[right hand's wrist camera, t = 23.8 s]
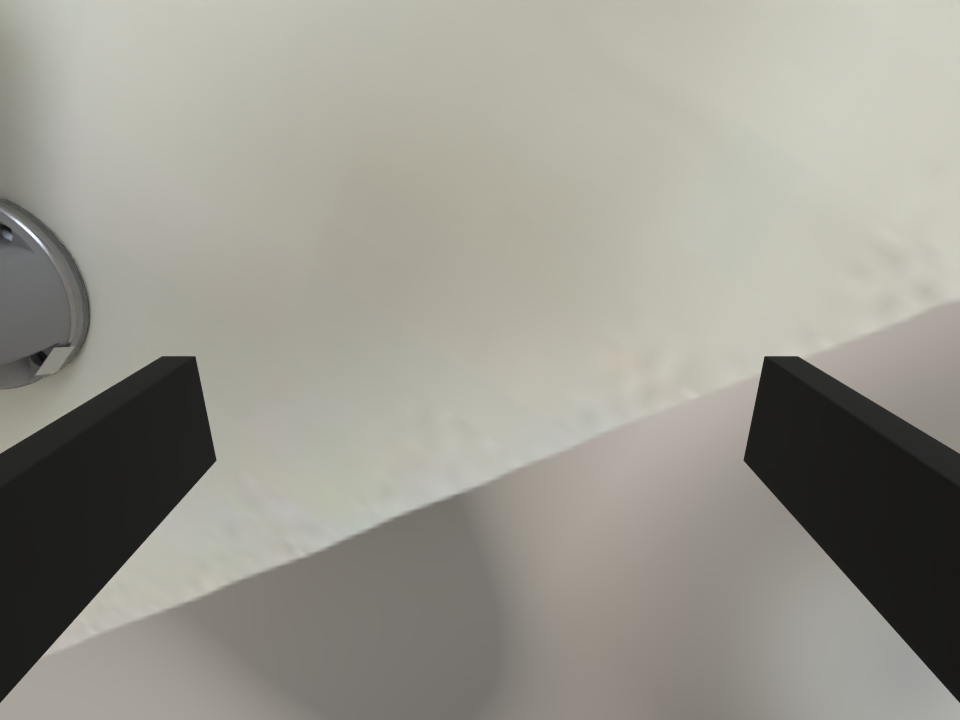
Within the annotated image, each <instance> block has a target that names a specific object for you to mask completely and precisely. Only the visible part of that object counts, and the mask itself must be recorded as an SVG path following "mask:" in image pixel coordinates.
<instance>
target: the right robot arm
mask: <svg viewBox="0 0 960 720" xmlns="http://www.w3.org/2000/svg"><path fill="white" fill-rule="evenodd" d="M88 321H89V307H88V299H87V294H86V290H85V287H84V283H83V281H82V278H81V276H80V273H79V271H78V269H77V267H76V265H75V263H74V261H73V260H72V258H71V256H70V255H69V253H68V252H67V250H66V249H65V248H64V246H63V245H62V244H61V243H60V241H59V240H58V239H57V238H56V237H55V235H54V234H53V233H52V232H51V231H50V230H49V229H48V228H47V227H46V226H44V225H43V224H42V223H41V222H40V221H39V220H38V219H36V218H35V217H34V216H32V215H31V214H30V213H28V212H27V211H25V210H24V209H22V208H20V207H19V206H17V205H15V204H13V203H12V202H10V201H8V200H6V199H3V198H1V197H0V390H1V389H12V388H18V387H22V386H26V385H29V384H32V383H34V382H36V381H38V380H40V379H42V378H44V377H46V376H48V375H50V374H54V373H56V372H57V371H58V370H60V369H61V368H63V367H64V366H65V365H67V364H68V363H69V362H70V361H71V360H72V359H73V358H74V357H75V355H76V354H77V353H78V351H79V350H80V348H81V346H82V344H83V342H84V339H85V336H86V333H87V328H88ZM215 461H216V456H215V451H214V446H213V441H212V436H211V431H210V426H209V421H208V416H207V412H206V407H205V402H204V397H203V392H202V387H201V382H200V377H199V372H198V367H197V362H196V357H195V356H162V357H160V358H159V359H157V360H155V361H154V362H152V363H150V364H149V365H147V366H145V367H144V368H142V369H140V370H139V371H137V372H135V373H134V374H132V375H130V376H129V377H127V378H125V379H124V380H122V381H121V382H119V383H117V384H116V385H114V386H112V387H111V388H109V389H107V390H106V391H104V392H102V393H101V394H99V395H97V396H96V397H94V398H92V399H91V400H89V401H87V402H86V403H84V404H82V405H81V406H79V407H77V408H76V409H74V410H72V411H71V412H69V413H67V414H66V415H64V416H62V417H61V418H59V419H57V420H56V421H54V422H52V423H51V424H49V425H47V426H46V427H44V428H42V429H41V430H39V431H37V432H36V433H34V434H33V435H31V436H29V437H28V438H26V439H24V440H23V441H21V442H19V443H18V444H16V445H14V446H13V447H11V448H9V449H8V450H6V451H4V452H3V453H1V454H0V702H1V701H2V700H3V699H4V698H5V697H6V696H7V695H8V693H9V692H10V691H11V690H12V689H13V688H14V687H15V686H16V684H17V683H18V682H19V681H20V680H21V679H22V678H23V677H24V676H25V674H26V673H27V672H28V671H29V670H30V669H31V668H32V666H33V665H34V664H35V663H36V662H37V661H38V660H39V659H40V658H41V656H42V655H43V654H44V653H45V652H46V651H47V650H48V649H49V648H50V646H51V645H52V644H53V643H54V642H55V641H56V640H57V639H58V637H59V636H60V635H61V634H62V633H63V632H64V631H65V630H66V628H67V627H68V626H69V625H70V624H71V623H72V622H73V621H74V619H75V618H76V617H77V616H78V615H79V614H80V613H81V612H82V611H83V609H84V608H85V607H86V606H87V605H88V604H89V603H90V602H91V600H92V599H93V598H94V597H95V596H96V595H97V594H98V593H99V591H100V590H101V589H102V588H103V587H104V586H105V585H106V584H107V583H108V581H109V580H110V579H111V578H112V577H113V576H114V575H115V574H116V572H117V571H118V570H119V569H120V568H121V567H122V566H123V565H124V563H125V562H126V561H127V560H128V559H129V558H130V557H131V556H132V554H133V553H134V552H135V551H136V550H137V549H138V548H139V547H140V546H141V544H142V543H143V542H144V541H145V540H146V539H147V538H148V537H149V535H150V534H151V533H152V532H153V531H154V530H155V529H156V528H157V526H158V525H159V524H160V523H161V522H162V521H163V520H164V519H165V518H166V516H167V515H168V514H169V513H170V512H171V511H172V510H173V509H174V507H175V506H176V505H177V504H178V503H179V502H180V501H181V500H182V498H183V497H184V496H185V495H186V494H187V493H188V492H189V491H190V489H191V488H192V487H193V486H194V485H195V484H196V483H197V482H198V481H199V479H200V478H201V477H202V476H203V475H204V474H205V473H206V472H207V470H208V469H209V468H210V467H211V466H212V465H213V464H214V463H215ZM744 461H745V463H746V464H747V465H748V466H749V467H750V468H751V469H752V470H753V472H754V473H755V474H756V475H757V476H758V477H759V478H760V479H761V481H762V482H763V483H764V484H765V485H766V486H767V487H768V488H769V489H770V491H771V492H772V493H773V494H774V495H775V496H776V497H777V498H778V500H779V501H780V502H781V503H782V504H783V505H784V506H785V507H786V509H787V510H788V511H789V512H790V513H791V514H792V515H793V516H794V517H795V519H796V520H797V521H798V522H799V523H800V524H801V525H802V526H803V527H804V529H805V530H806V531H807V532H808V533H809V534H810V535H811V537H812V538H813V539H814V540H815V541H816V542H817V543H818V544H819V546H820V547H821V548H822V549H823V550H824V551H825V552H826V553H827V554H828V556H829V557H830V558H831V559H832V560H833V561H834V562H835V563H836V565H837V566H838V567H839V568H840V569H841V570H842V571H843V572H844V574H845V575H846V576H847V577H848V578H849V579H850V580H851V581H852V583H853V584H854V585H855V586H856V587H857V588H858V589H859V590H860V591H861V593H862V594H863V595H864V596H865V597H866V598H867V599H868V600H869V602H870V603H871V604H872V605H873V606H874V607H875V608H876V609H877V610H878V612H879V613H880V614H881V615H882V616H883V617H884V618H885V619H886V621H887V622H888V623H889V624H890V625H891V626H892V627H893V628H894V630H895V631H896V632H897V633H898V634H899V635H900V636H901V637H902V639H903V640H904V641H905V642H906V643H907V644H908V645H909V646H910V648H911V649H912V650H913V651H914V652H915V653H916V654H917V655H918V656H919V658H920V659H921V660H922V661H923V662H924V663H925V664H926V665H927V667H928V668H929V669H930V670H931V671H932V672H933V673H934V674H935V675H936V677H937V678H938V679H939V680H940V681H941V682H942V683H943V684H944V686H945V687H946V688H947V689H948V690H949V691H950V692H951V693H952V695H953V696H954V697H955V698H956V699H957V700H958V701H959V702H960V454H959V453H957V452H956V451H954V450H952V449H951V448H949V447H947V446H946V445H944V444H942V443H941V442H939V441H937V440H936V439H934V438H932V437H931V436H929V435H927V434H926V433H924V432H922V431H921V430H919V429H918V428H916V427H914V426H912V425H911V424H909V423H908V422H906V421H904V420H903V419H901V418H899V417H898V416H896V415H894V414H893V413H891V412H889V411H888V410H886V409H884V408H883V407H881V406H879V405H878V404H876V403H874V402H873V401H871V400H869V399H868V398H866V397H864V396H863V395H861V394H859V393H858V392H856V391H854V390H853V389H851V388H849V387H848V386H846V385H844V384H843V383H841V382H839V381H838V380H836V379H835V378H833V377H831V376H830V375H828V374H826V373H824V372H823V371H821V370H820V369H818V368H816V367H815V366H813V365H811V364H810V363H808V362H806V361H805V360H803V359H801V358H800V357H798V356H765V357H764V362H763V367H762V372H761V377H760V382H759V387H758V392H757V397H756V402H755V407H754V412H753V417H752V421H751V427H750V431H749V436H748V442H747V446H746V451H745V456H744Z"/></svg>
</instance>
